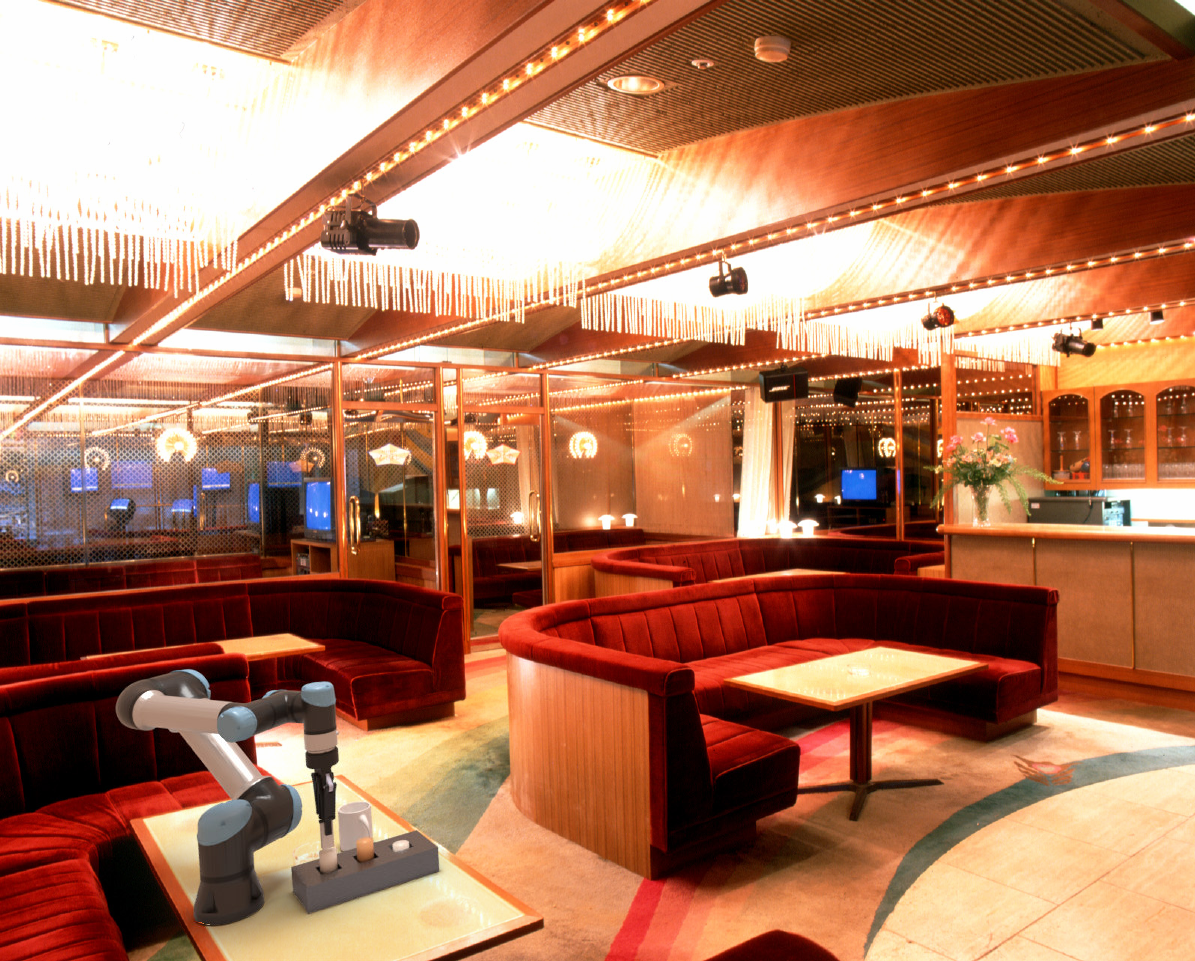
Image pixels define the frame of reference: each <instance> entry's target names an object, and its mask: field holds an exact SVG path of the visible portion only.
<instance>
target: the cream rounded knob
mask: <svg viewBox="0 0 1195 961" xmlns="http://www.w3.org/2000/svg"><path fill="white" fill-rule="evenodd" d="M408 848H409V841H407V840H400V841H396V842H394V843H393V851H394V852H398V851H401V850H404V849H408Z"/></svg>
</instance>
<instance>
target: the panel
mask: <svg viewBox="0 0 1195 961" xmlns="http://www.w3.org/2000/svg"><path fill="white" fill-rule="evenodd" d="M400 840H407V841H409V848H408V849H404V850H401V851H398V852H394V851H393V843H394V842H396V841H400ZM373 846H374V859H371V860H368V861H365V862H361V863H358V862H357V848H354V849H351V850H347V851H341V852H338V853H337V867H338V870H335V871H332V872H328V873H325V874H322V875H321V874H320V862H319V858H317V859H313V860H310V861H306V862H303V863H300V864H297V865H293V866H291V867H290V870H291V871H290V872H291V888H292V893H293V895H294V896H295V897H296V899H297V900H298V901H299V903H300V904H301V906H302V907H303V908H304V910H305V911H306V913H307V914H308V915H309V914H312V913H315V912H319V911H322V910H325V909H327V908H331V907H334V906H337V905H340V904H344V903H347V902H350V901H351V900H355V899H359V898H362V897H365V896H367V895H370V894H374V893H376V892H380V891H383V890H387V889H389V888H392V887H396V886H398V885H401V884H404V883H407V882H410V881H414V880H416V879H420V878H422V877H425V876H426V877H427V876H429V875H432V874H435V873H439V872H440V856H439V846H437V845H436V844H435V843H434V842H432V841H431V840H430V839H429V838H427V837H426V836H425V835H424V834H422V833H421V832H420V831H419V830H413V831H409V832H406V833H403V834H399V835H396V836H393V837H388V838H385V839H381V840H379V841H375V842H373Z"/></svg>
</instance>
